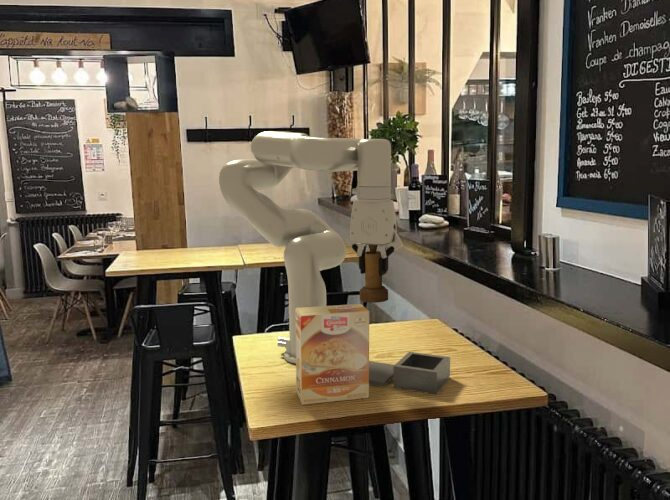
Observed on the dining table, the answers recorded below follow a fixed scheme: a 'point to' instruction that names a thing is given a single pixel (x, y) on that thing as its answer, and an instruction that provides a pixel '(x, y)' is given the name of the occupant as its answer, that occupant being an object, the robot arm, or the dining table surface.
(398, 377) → the open square box
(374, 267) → the wooden pepper mill
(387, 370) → the coaster
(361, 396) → the coffeecake box
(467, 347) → the dining table surface
